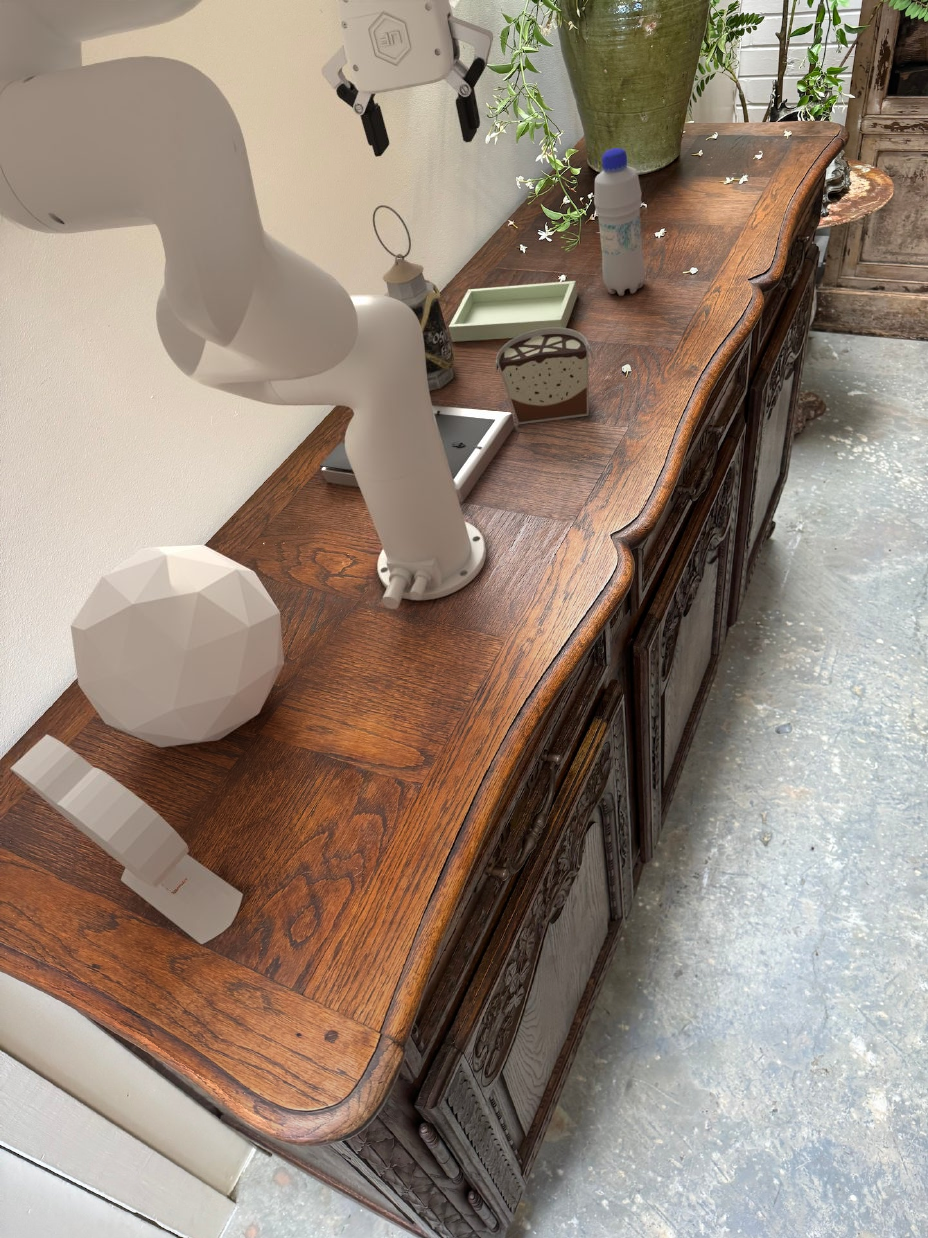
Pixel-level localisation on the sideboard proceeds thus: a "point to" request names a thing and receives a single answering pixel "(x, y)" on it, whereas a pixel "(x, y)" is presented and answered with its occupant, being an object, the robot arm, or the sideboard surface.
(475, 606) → the sideboard surface
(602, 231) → the bottle
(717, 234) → the sideboard surface
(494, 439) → the picture frame
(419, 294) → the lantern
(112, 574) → the ball
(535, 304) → the tray
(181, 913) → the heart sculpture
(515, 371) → the food container
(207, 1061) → the sideboard surface
